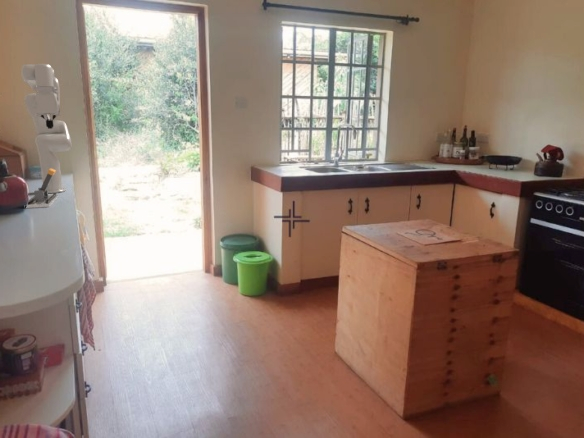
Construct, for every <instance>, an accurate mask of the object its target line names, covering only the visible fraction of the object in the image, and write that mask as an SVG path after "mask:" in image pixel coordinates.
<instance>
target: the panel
mask: <svg viewBox="0 0 584 438" xmlns="http://www.w3.org/2000/svg"><path fill="white" fill-rule="evenodd" d="M40 189H41V187H38V189H37V190H34V195H33V197H31V198H30V199H28V200H27V201H28V205H27V207H26V208H25V209H34V208H35V209H36V208H38V209H39V208H50V207H51V206H52V205H53V204H54V203H55V202H56V201H57V200H58V199H59V194H57V193H52V195H49V193H48V191H47V190H46V192H45V193H44V190H40Z"/></svg>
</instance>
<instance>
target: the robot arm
mask: <svg viewBox="0 0 584 438" xmlns="http://www.w3.org/2000/svg"><path fill="white" fill-rule="evenodd" d="M20 72H21V73H20V74H21V78H22V81H23V82H24V83H25V84H26V85H29V87H30V89H31V90H32V91H34V93H28V94H26V95H24V101H23V102H24V106H25V108H26V111H27V113H28V115H29V116H30V117H31V118H32V120H33V124H34V128H35V129H34V130H35V133H36V135H37V136H36V137H35V139H34V140H35V145H36V149H37V153H38V159H39V165H40V174H41V181H42V184H43V183H44V180H45V178H46V176H47V174H48V171H49V169H51V168H52V169H54V170H56V172H55V174H54V175H53V177H52V179H51V181H50V183H49V186H48V188H47V191H48V194H55V193H56V194H58V193H63V192H66V191H67V188H65V187H63V180H62V171H61V164H60V158H59V157H58V156H57V155H56V154H55V153H56V152H68V151H71V149H72V147H73V145H72V138H71V135H70V131H69V129H68V128H69V127H68V125H67V124H66V122H65V121H64V120H60V119H59V120H56V118H59V117H61V110H60V104H61V100H60V99H61V94H60V93H61V91H60V90H61V89H60V83H59V80H58V78H57V77H55V76H56V75H55V70H54V68H53V67H52V66H51V65H50V64H47V63H36V64H30V63H29V64H27V63H26V64H23V65H22V67H21V71H20ZM36 92H37V93H36ZM54 152H55V153H54Z"/></svg>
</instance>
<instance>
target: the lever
mask: <svg viewBox="0 0 584 438" xmlns="http://www.w3.org/2000/svg"><path fill="white" fill-rule="evenodd" d="M55 172H56V170H54V169H52V168H51V169H49V171H48V174H47V176H46V178H45V180H44V183H43V182H42V185H41V187H40V188H41V189H40V190H44V193H45V192H46V190H47V188H48V186H49V183H50V181H51V179H52V177H53V175H54V174H55Z"/></svg>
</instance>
